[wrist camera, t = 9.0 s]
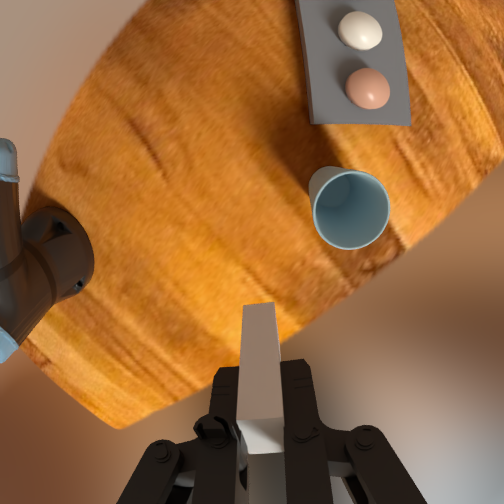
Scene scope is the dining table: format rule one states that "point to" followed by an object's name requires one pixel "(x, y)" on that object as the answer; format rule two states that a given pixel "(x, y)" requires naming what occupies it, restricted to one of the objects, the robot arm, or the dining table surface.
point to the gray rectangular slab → (351, 62)
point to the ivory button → (359, 31)
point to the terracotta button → (367, 89)
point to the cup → (348, 206)
